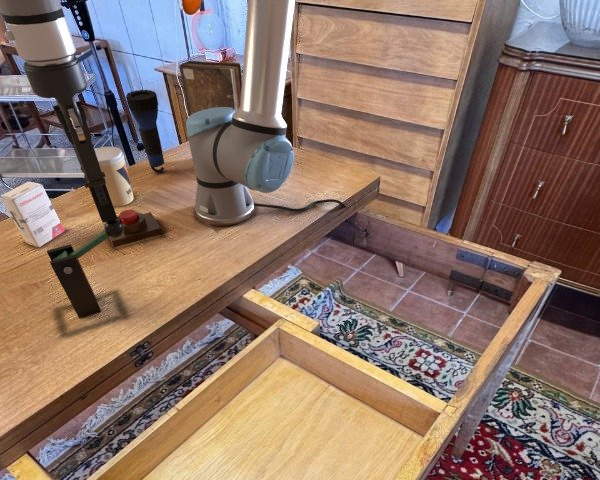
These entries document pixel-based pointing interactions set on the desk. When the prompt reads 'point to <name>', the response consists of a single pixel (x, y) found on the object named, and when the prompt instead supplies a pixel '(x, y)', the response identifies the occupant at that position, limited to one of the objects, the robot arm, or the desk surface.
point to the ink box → (33, 213)
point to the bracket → (74, 281)
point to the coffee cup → (115, 175)
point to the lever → (97, 239)
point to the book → (211, 85)
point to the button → (128, 216)
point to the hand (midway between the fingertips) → (109, 218)
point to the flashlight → (147, 124)
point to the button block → (138, 230)
